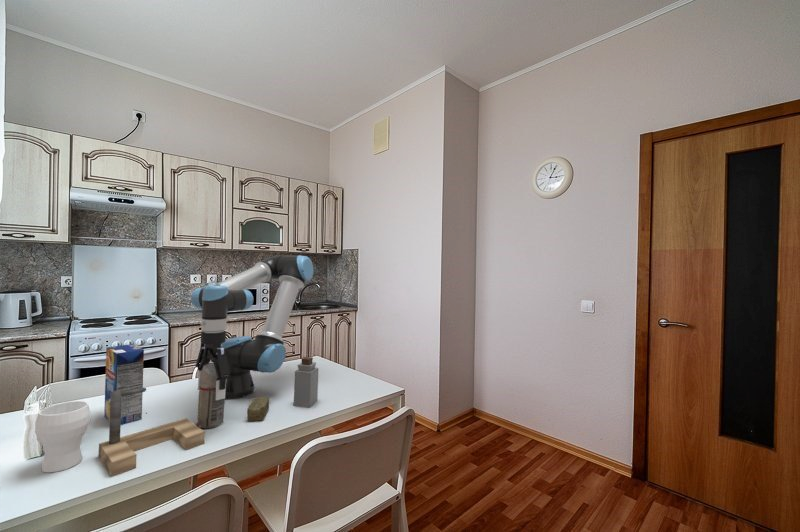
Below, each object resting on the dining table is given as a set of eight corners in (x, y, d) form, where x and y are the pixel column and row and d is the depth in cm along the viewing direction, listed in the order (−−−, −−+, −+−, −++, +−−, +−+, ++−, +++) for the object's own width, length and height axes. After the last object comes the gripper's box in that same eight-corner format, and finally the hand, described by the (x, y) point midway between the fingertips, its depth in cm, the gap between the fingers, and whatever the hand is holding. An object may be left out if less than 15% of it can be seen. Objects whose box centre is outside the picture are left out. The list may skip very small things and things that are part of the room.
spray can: (218, 416, 124) (220, 360, 124) (229, 423, 119) (231, 364, 119) (192, 423, 118) (194, 364, 118) (202, 431, 112) (204, 369, 112)
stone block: (246, 422, 120) (246, 408, 120) (253, 409, 131) (253, 396, 131) (263, 421, 121) (264, 407, 121) (269, 408, 133) (270, 395, 133)
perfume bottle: (309, 407, 134) (311, 361, 134) (293, 405, 135) (295, 359, 135) (317, 401, 140) (318, 356, 140) (301, 399, 142) (303, 355, 142)
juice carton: (104, 416, 121) (106, 347, 121) (130, 409, 127) (132, 344, 127) (114, 427, 114) (116, 353, 114) (141, 419, 120) (144, 349, 120)
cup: (47, 480, 86) (49, 419, 86) (24, 469, 90) (26, 411, 90) (98, 458, 96) (99, 404, 96) (75, 450, 100) (77, 397, 100)
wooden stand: (98, 456, 97) (100, 393, 97) (185, 428, 114) (187, 375, 114) (112, 476, 88) (114, 407, 88) (204, 443, 105) (206, 385, 105)
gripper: (186, 327, 123) (184, 387, 123) (219, 337, 108) (216, 406, 107) (209, 325, 129) (206, 382, 129) (243, 334, 114) (240, 400, 113)
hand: (211, 393), depth 118 cm, fingers open, 13 cm apart
